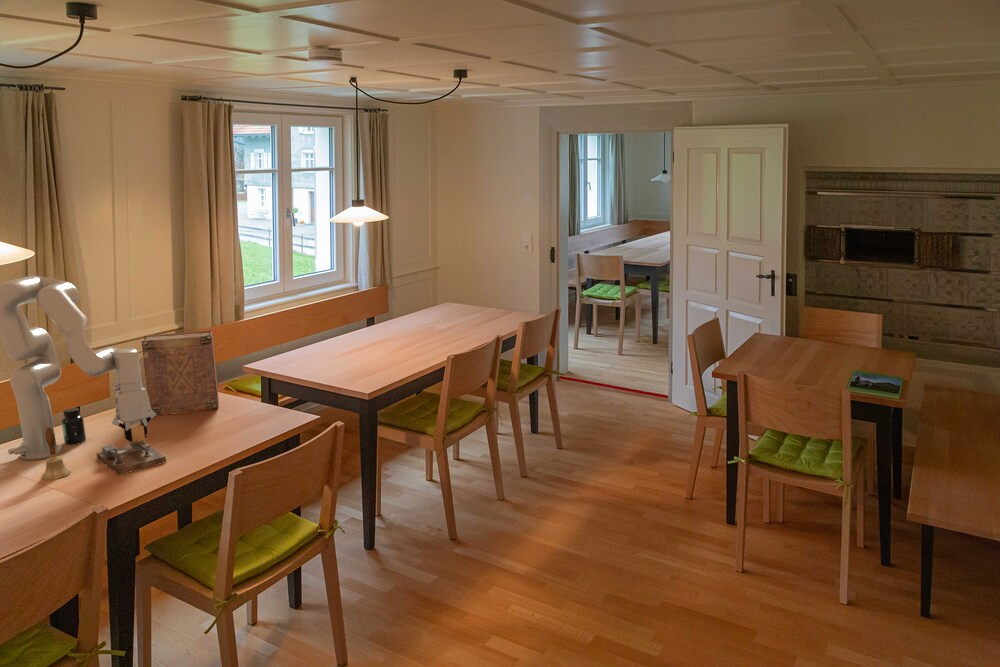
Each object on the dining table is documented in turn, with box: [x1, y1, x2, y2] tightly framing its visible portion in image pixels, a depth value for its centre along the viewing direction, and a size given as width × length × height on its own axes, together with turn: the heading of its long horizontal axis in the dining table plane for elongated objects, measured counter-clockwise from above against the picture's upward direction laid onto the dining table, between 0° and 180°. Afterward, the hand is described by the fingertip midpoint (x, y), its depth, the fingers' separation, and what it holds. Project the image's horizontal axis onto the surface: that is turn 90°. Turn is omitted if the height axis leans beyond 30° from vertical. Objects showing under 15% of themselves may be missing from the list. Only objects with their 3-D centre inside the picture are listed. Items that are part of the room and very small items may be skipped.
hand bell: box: [41, 427, 72, 481], centre depth 259 cm, size 8×8×16 cm
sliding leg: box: [129, 423, 149, 455], centre depth 272 cm, size 4×12×8 cm, turn 43°
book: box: [141, 330, 220, 416], centre depth 321 cm, size 25×9×30 cm, turn 107°
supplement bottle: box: [61, 407, 87, 445], centre depth 288 cm, size 7×7×12 cm
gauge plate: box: [96, 443, 167, 476], centre depth 271 cm, size 15×20×5 cm
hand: (136, 438), depth 274 cm, fingers closed on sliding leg, 4 cm apart
